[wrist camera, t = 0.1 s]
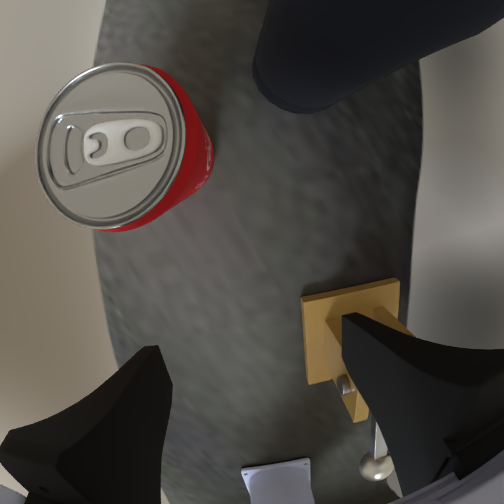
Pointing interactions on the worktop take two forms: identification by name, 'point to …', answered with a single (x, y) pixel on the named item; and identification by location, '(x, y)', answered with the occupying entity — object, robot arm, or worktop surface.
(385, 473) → the tap lever
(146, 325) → the worktop surface
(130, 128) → the beverage can
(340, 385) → the bracket
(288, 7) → the black bottle
